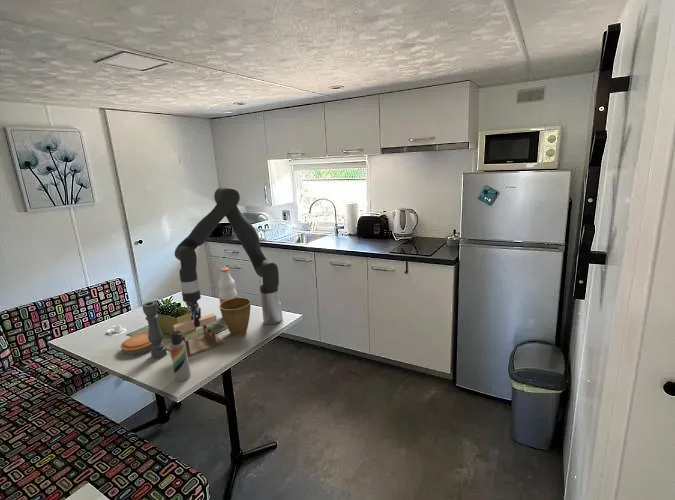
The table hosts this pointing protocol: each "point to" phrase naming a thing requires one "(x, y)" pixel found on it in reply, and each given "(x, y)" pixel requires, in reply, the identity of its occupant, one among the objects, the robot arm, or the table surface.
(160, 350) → the candle holder
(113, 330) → the teacup and saucer
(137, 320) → the table surface
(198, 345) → the rack
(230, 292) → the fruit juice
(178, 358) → the lotion bottle
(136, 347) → the pie
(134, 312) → the table surface
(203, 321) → the strip
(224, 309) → the plant pot
